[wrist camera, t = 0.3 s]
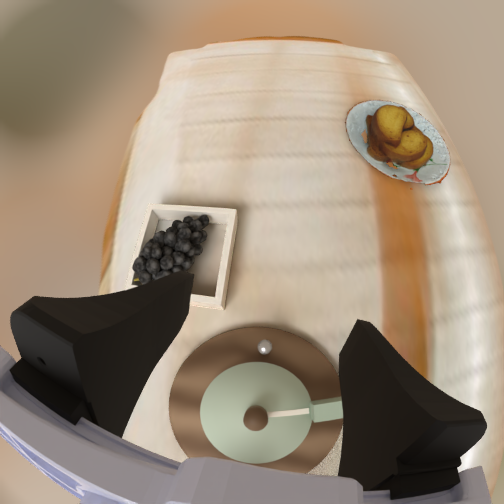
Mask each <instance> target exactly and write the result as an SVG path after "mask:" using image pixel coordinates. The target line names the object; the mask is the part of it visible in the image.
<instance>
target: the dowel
mask: <svg viewBox="0 0 504 504" xmlns="http://www.w3.org/2000/svg"><path fill="white" fill-rule="evenodd" d="M271 349H272V344H271V342H270V341H268V340H262V341H260V342H259V343H258V351H259V352H260V353H261V354H263V355H266V354H268V353H269V352H270V351H271Z"/></svg>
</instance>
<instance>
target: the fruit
mask: <svg viewBox="0 0 504 504" xmlns="http://www.w3.org/2000/svg"><path fill="white" fill-rule="evenodd" d="M208 224H209V218H208V216H207V215H201V216H200V217H198V218H197V219H196V220H194V219H193V217H191V216H186V217H184V219H183V222H182V221H180V220H175V221H174V222H173V224H172V227H169V228H168V229H167V230H166V232H164V231H159V232H157V233H155V234H154V236H153V238H152V239H149V241H148V242H147V243H146V244H145V245H144V248H143V249H142V251H141V252H140V253H139V257H137V258H136V259H135V261H134V264H133V266H132V269H133V271H134V272H136V273H137V274H138V275H139V276H138V278H136V279H134V281H140V282H141V283H142V284H146V283H149V282H151V281H152V279H153V281H154V280H157V279H159V278H162V277H164V276H167V275H169V274H172V273H174V272H177V271H180V270H181V271H185V272H186V271H187V269H189V268H190V267H191V264H193V263H194V256H193V255H200V254H201V253H202V246H201V245H200V244H199V243H201V242H203V241H205V240H206V237H207V234H206V232H205V231H203V230H202V229H203V228H204V227H205V226H207V225H208ZM174 248H175V249H174Z"/></svg>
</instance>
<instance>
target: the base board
mask: <svg viewBox="0 0 504 504" xmlns="http://www.w3.org/2000/svg"><path fill="white" fill-rule="evenodd" d="M262 340H268V341H270V342H271V344H272V349H271V351H270V352H269V353H268V354H266V355H263V354H261V353H260V352H259V351H258V343H259V342H260V341H262ZM249 362H264V363H270V364H274V365H277V366H280V367H282V368H284V369H286V370H288V371H289V372H291V373H292V374H294V375H295V376H296V377H297V378H298V379H299V380H300V381H301V382H302V384H303V385H304V386H305V388H306V390H307V391H308V394H309V396H310V399H311V401H315V400H322V399H329V398H335V397H341V390H340V381H339V377H338V375H337V373H336V371H335V369H334V368H333V366H332V365H331V363H330V362H329V361H328V359H327V358H326V357H325V356H324V355H323V354H322V353H321V352H320V351H319V350H318V349H317V348H316V347H314V346H313V345H312V344H311V343H309V342H307V341H306V340H304V339H302V338H301V337H298V336H296V335H294V334H291V333H289V332H286V331H282V330H279V329H273V328H266V327H250V328H241V329H236V330H232V331H228V332H225V333H222V334H220V335H218V336H216V337H214V338H212V339H210V340H208V341H207V342H205V343H204V344H202V345H201V346H200V347H198V348H197V349H196V350H195V351H194V352H193V353H192V354H191V355H190V356H189V357H188V358H187V359H186V360H185V362H184V363H183V365H182V366H181V367H180V369H179V371H178V373H177V375H176V377H175V379H174V382H173V385H172V388H171V392H170V397H169V416H170V422H171V426H172V430H173V432H174V435H175V437H176V440H177V441H178V443H179V445H180V447H181V448H182V450H183V451H184V452H185V454H186V455H187V456H188V457H189V458H192V457H214V458H220V459H226V460H232V461H236V462H241V461H237V460H234V459H232V458H230V457H228V456H226V455H224V454H223V453H221V452H220V451H219V450H218V449H216V448H215V447H214V446H213V444H212V443H211V442H210V441H209V439H208V438H207V436H206V434H205V432H204V430H203V427H202V424H201V418H200V407H201V401H202V398H203V395H204V393H205V391H206V389H207V388H208V386H209V385H210V383H211V382H212V381H213V380H214V379H215V378H216V377H217V376H218V375H219V374H221V373H222V372H224V371H225V370H227V369H229V368H231V367H233V366H236V365H239V364H243V363H249ZM243 422H244V425H245V426H246V428H248V429H249V430H252V431H260V430H262V429H264V428H265V427H266V425H267V423H268V414H267V411H266V410H265V409H264V408H263V407H261V406H258V405H254V406H251V407H249V408H248V409H247V410H246V412H245V414H244V417H243ZM342 425H343V418H340V419H335V420H329V421H322V422H315V423H314V421H313V420H312V423H311V426H310V429H309V432H308V434H307V436H306V437H305V439H304V440H303V442H302V443H301V444H300V445H299V446H298V447H297V448H296V449H295V450H294V451H293V452H291V453H290V454H288V455H287V456H285V457H283V458H281V459H278V460H275V461H272V462H268V463H260V464H254V463H245V462H241V463H245V464H250V465H254V466H259V467H265V468H270V469H276V470H282V471H289V472H297V473H305V474H306V473H307V472H309V471H310V470H312V469H313V468H314V467H315V466H317V465H318V464H319V463H320V462H321V461H322V460H323V459H324V458H325V457H326V456H327V454H328V453H329V452H330V450H331V449H332V448H333V446H334V444H335V442H336V441H337V439H338V437H339V434H340V431H341V428H342Z"/></svg>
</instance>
